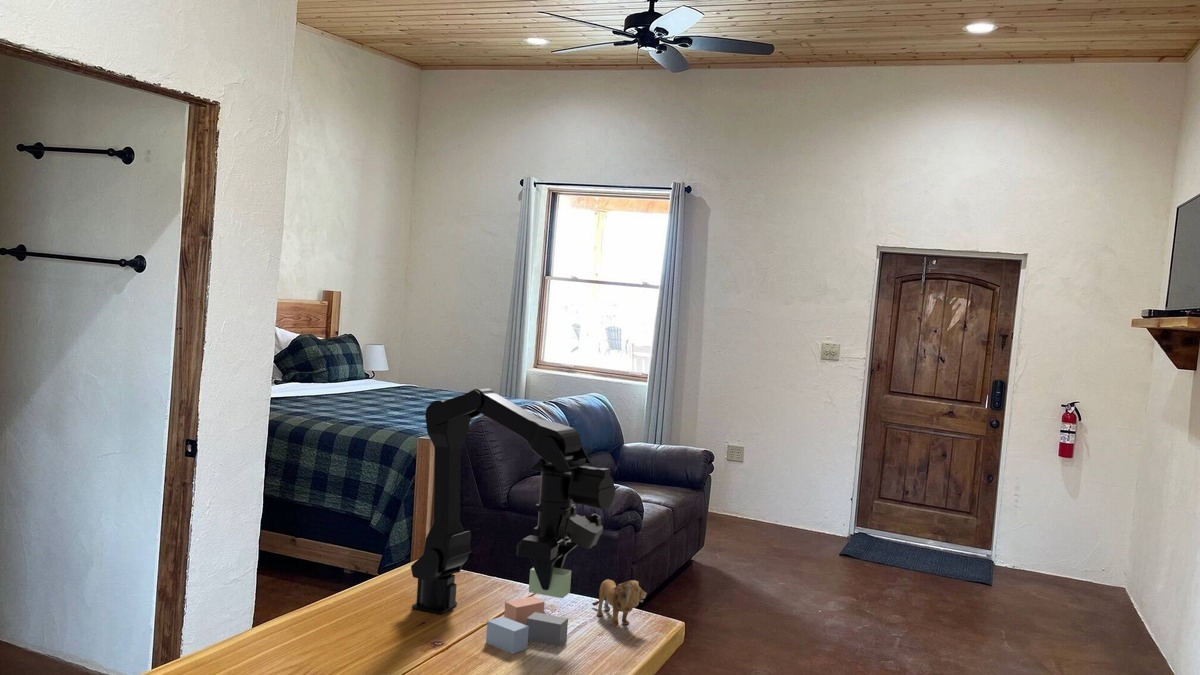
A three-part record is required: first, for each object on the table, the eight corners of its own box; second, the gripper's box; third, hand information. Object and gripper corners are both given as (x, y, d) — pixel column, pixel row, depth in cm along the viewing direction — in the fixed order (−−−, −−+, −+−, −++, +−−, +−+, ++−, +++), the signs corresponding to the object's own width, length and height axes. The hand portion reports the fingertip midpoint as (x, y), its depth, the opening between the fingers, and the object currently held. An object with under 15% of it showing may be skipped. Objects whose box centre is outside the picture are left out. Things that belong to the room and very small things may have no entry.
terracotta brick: (515, 629, 169) (516, 607, 168) (503, 623, 171) (505, 601, 171) (543, 623, 173) (544, 601, 173) (531, 617, 176) (532, 596, 175)
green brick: (528, 592, 163) (530, 569, 163) (536, 586, 167) (538, 564, 166) (562, 598, 161) (564, 575, 161) (569, 592, 164) (571, 570, 164)
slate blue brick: (485, 643, 161) (487, 620, 160) (500, 638, 163) (502, 616, 163) (512, 654, 157) (514, 631, 156) (527, 649, 159) (528, 626, 159)
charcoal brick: (525, 640, 163) (526, 618, 163) (533, 633, 167) (534, 612, 167) (559, 647, 161) (560, 624, 161) (566, 640, 165) (568, 618, 165)
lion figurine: (647, 630, 173) (651, 582, 172) (624, 634, 170) (628, 585, 169) (602, 605, 185) (605, 560, 184) (580, 609, 182) (583, 563, 181)
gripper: (580, 516, 152) (574, 610, 152) (615, 495, 169) (609, 580, 170) (518, 506, 155) (511, 598, 156) (558, 487, 173) (552, 570, 174)
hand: (549, 586), depth 164 cm, fingers closed on green brick, 4 cm apart
